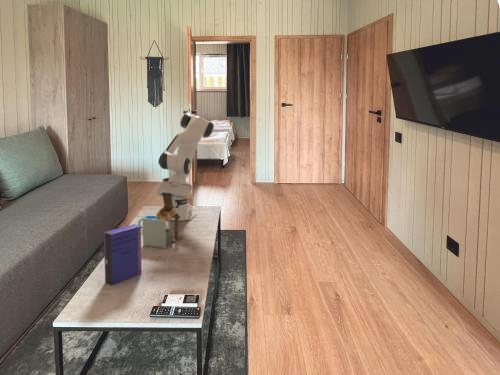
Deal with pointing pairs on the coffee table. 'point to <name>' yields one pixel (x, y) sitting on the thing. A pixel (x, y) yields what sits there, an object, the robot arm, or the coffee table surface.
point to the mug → (148, 218)
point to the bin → (156, 233)
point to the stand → (176, 230)
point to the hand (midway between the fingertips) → (169, 202)
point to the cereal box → (122, 253)
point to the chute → (166, 208)
